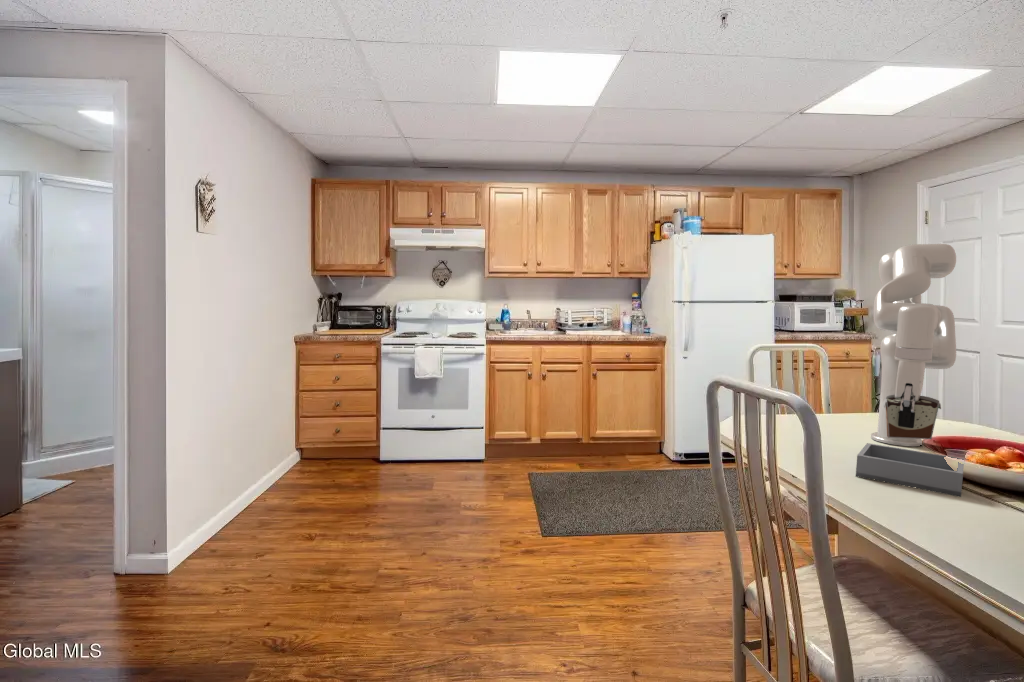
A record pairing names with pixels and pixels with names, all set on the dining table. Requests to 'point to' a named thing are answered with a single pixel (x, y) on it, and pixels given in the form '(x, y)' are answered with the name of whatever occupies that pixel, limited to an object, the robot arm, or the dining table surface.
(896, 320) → the robot arm
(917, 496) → the dining table surface
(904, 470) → the bin
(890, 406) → the food container
